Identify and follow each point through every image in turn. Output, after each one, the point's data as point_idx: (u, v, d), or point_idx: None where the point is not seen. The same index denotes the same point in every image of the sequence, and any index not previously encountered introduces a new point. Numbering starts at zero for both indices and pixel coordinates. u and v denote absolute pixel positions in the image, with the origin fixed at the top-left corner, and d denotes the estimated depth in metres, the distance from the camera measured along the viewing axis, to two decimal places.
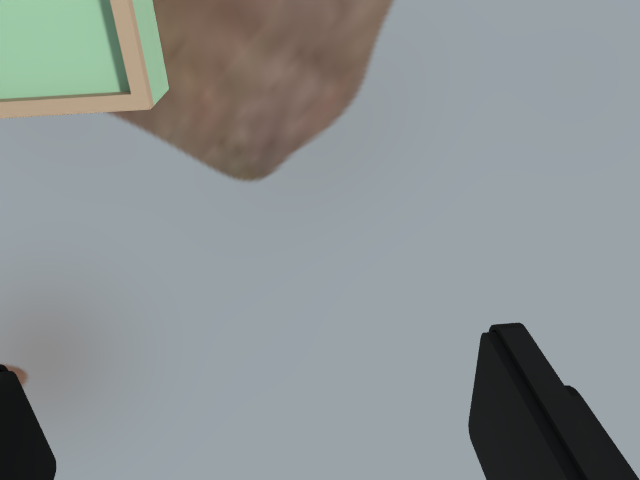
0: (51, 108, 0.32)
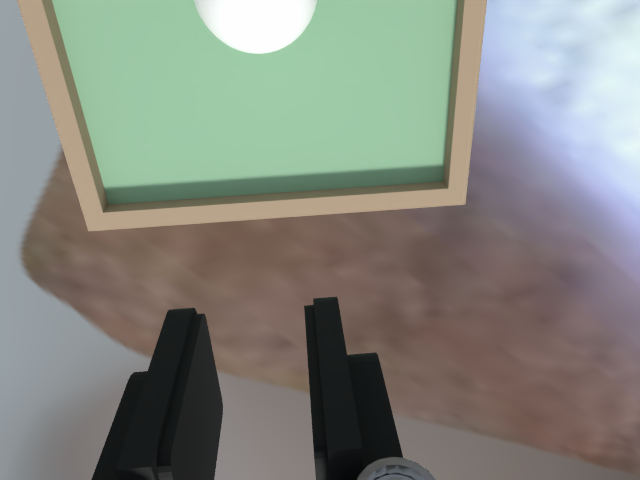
0: (61, 114, 0.23)
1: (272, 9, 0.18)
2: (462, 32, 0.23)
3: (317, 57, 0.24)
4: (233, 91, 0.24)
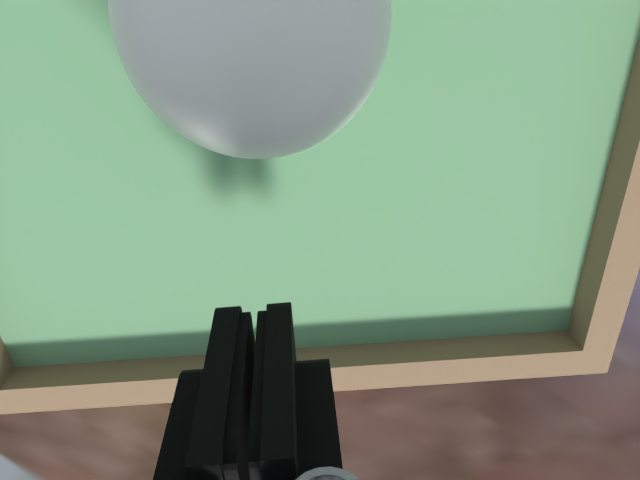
0: None
1: (292, 84, 0.07)
2: None
3: (369, 140, 0.13)
4: (218, 198, 0.14)
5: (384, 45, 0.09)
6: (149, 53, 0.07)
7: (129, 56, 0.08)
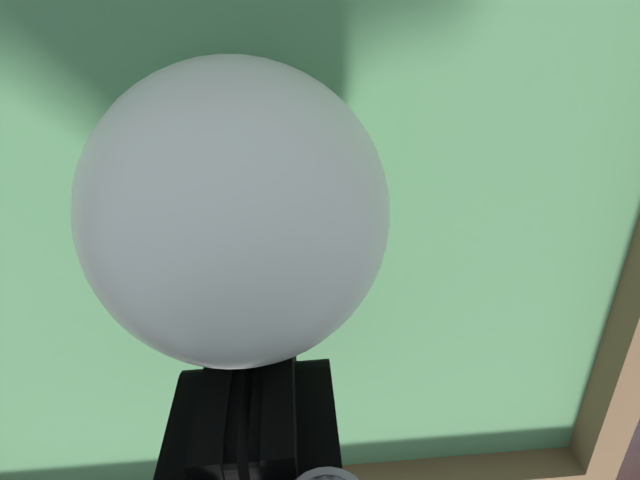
0: None
1: (280, 334, 0.07)
2: None
3: None
4: None
5: (382, 256, 0.08)
6: (116, 301, 0.07)
7: (94, 289, 0.07)
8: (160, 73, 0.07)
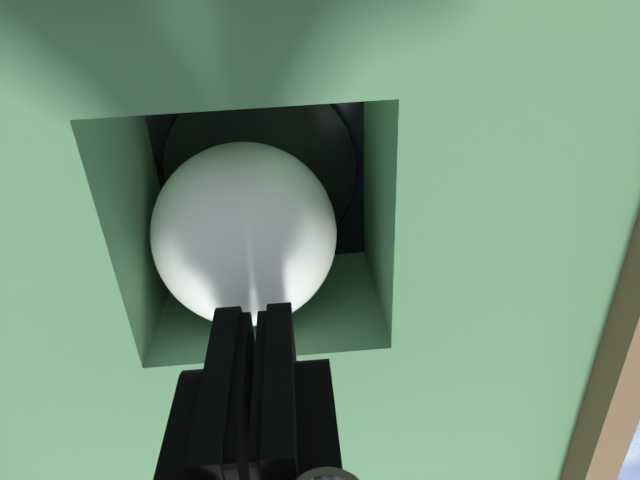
0: None
1: None
2: None
3: None
4: None
5: None
6: None
7: None
8: None
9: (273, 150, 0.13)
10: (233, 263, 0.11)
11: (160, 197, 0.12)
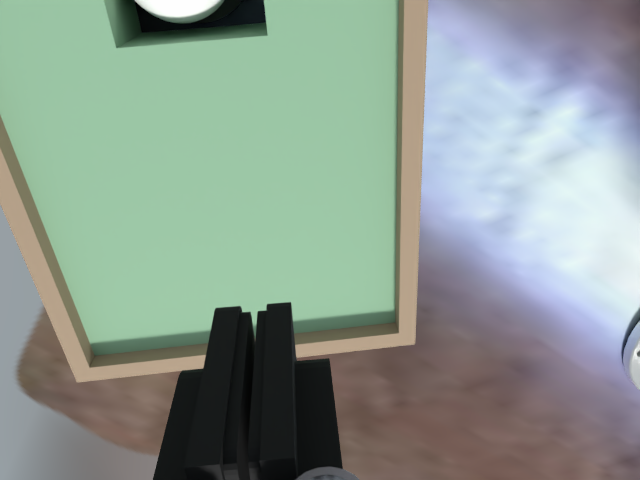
0: (49, 296, 0.26)
1: None
2: (401, 218, 0.26)
3: (275, 236, 0.26)
4: (202, 265, 0.27)
5: None
6: None
7: None
8: None
9: None
10: None
11: None
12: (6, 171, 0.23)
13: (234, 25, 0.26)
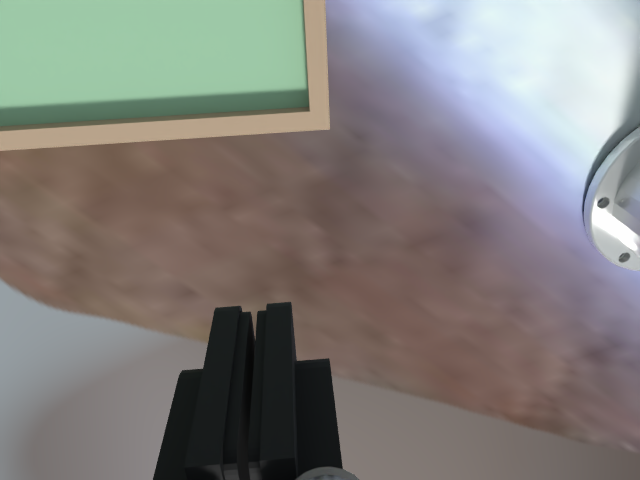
0: None
1: None
2: None
3: None
4: (78, 5, 0.24)
5: None
6: None
7: None
8: None
9: None
10: None
11: None
12: None
13: None
